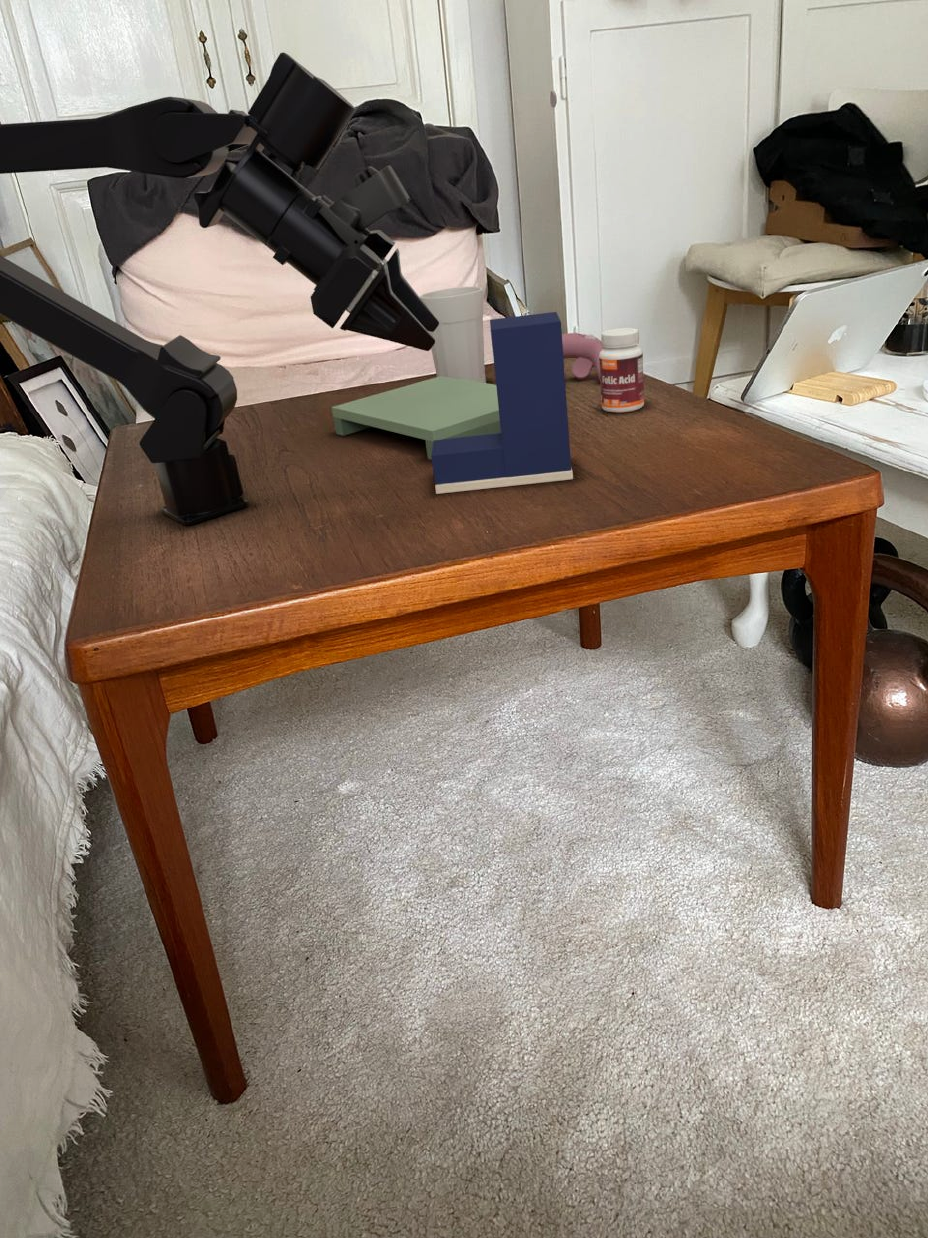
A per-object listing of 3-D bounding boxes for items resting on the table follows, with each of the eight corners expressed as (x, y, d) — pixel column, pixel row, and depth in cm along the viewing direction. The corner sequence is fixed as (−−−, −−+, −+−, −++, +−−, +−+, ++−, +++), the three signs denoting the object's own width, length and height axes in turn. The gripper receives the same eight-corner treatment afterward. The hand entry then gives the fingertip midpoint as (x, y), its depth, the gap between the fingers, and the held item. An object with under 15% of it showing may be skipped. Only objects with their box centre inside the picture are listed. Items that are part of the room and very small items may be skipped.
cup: (425, 386, 128) (413, 294, 123) (481, 376, 130) (471, 284, 124) (442, 397, 121) (429, 300, 116) (500, 386, 123) (491, 289, 118)
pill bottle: (598, 414, 105) (594, 337, 101) (605, 402, 109) (601, 328, 106) (641, 412, 104) (638, 334, 100) (647, 401, 108) (644, 325, 104)
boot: (436, 494, 87) (414, 338, 81) (438, 475, 92) (418, 327, 86) (573, 479, 86) (562, 321, 80) (568, 461, 91) (557, 311, 85)
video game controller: (609, 388, 121) (605, 334, 121) (609, 379, 117) (605, 323, 117) (531, 396, 123) (528, 342, 123) (529, 387, 118) (525, 331, 118)
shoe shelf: (436, 461, 96) (432, 430, 95) (336, 433, 111) (331, 406, 110) (552, 422, 105) (550, 393, 103) (444, 401, 119) (441, 375, 118)
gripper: (325, 131, 68) (493, 273, 72) (354, 134, 85) (490, 249, 89) (242, 260, 72) (406, 388, 76) (286, 239, 89) (419, 344, 93)
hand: (434, 336), depth 84 cm, fingers open, 9 cm apart
